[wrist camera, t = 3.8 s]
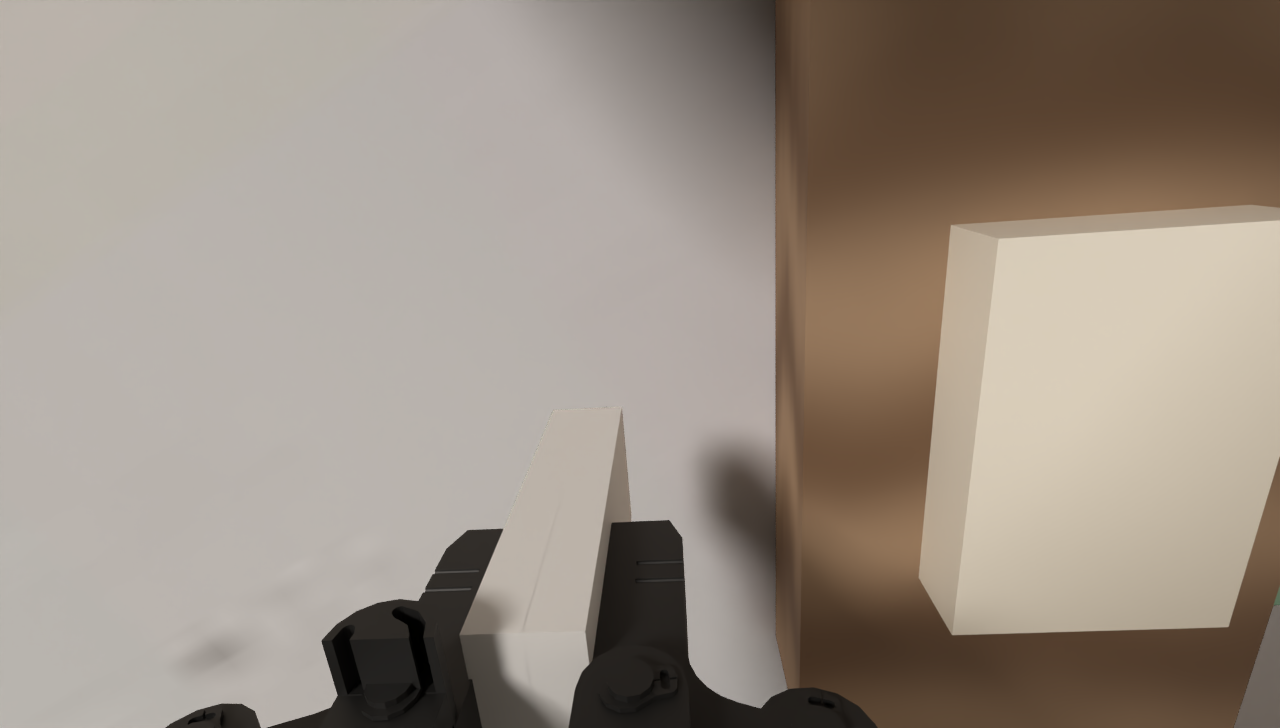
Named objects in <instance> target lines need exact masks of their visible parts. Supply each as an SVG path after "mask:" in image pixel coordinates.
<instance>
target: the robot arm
mask: <svg viewBox="0 0 1280 728" xmlns="http://www.w3.org/2000/svg"><path fill="white" fill-rule="evenodd" d="M425 589H426V591H425V593H423V594H422V595H421V597H420V599H419V601H411V600H403V599H398V600H392V601H386V602H380V603H377V604H374V605H372V606H369V607H366V608H364V609H361V610H359V611H356V612H355V613H353V614H352V615H350V616H349V617H347V618H346V619H344V620H343V621H341V622H340V623H338V624H337V625H336V626H335V627H334V628H333V629H332V630H331V631H330V632H329V633H328V634H327V635H326V636H325V637H324V638H323V640H322V645H323V648H324V651H325V655H326V658H327V661H328V664H329V668H330V671H331V674H332V678H333V681H334V684H335V688H336V691H337V694H338V696H337V698H336V700H335V701H334V703H333V705H332V707H331V708H329V709H326V710H324V711H321V712H318V713H316V714H313V715H309V716H306V717H302V718H299V719H295V720H292V721H288V722H285V723H281V724H278V725H274V726H271V727H268V728H878V727H877V726H876V724H875V723H874V722H873V721H872V720H871V719H870V718H869V717H868V716H867V714H866V713H865V712H864V711H863V710H862V709H861V708H860V707H859V706H858V705H856V704H854V703H853V702H851V701H849V700H848V699H846V698H844V697H843V696H841V695H839V694H837V693H834V692H830V691H826V690H822V689H818V688H814V687H810V688H793V689H789V690H786V691H784V692H782V693H779V694H777V695H775V696H773V697H771V698H770V699H769V700H768V701H767V702H766V704H765V705H764V706H763V707H762V708H761V709H760V708H756V707H753V706H749V705H745V704H742V703H738V702H735V701H733V700H730V699H727V698H725V697H722V696H720V695H718V694H717V693H715V692H714V691H712V690H711V689H709V688H708V687H706V685H705V684H704V683H703V682H702V681H701V680H700V679H699V678H698V677H697V676H696V674H695V672H694V671H693V669H692V667H691V665H690V663H689V658H688V637H687V615H686V597H685V579H684V561H683V543H682V537H681V536H680V534H679V533H678V532H677V530H676V529H675V527H674V526H673V525H672V523H671V522H670V521H669V520H664V521H639V522H631V506H630V495H629V483H628V472H627V460H626V449H625V437H624V426H623V414H622V407H604V408H584V409H564V410H553V412H552V414H551V417H550V419H549V421H548V424H547V426H546V429H545V431H544V433H543V436H542V438H541V441H540V443H539V445H538V448H537V450H536V453H535V455H534V457H533V460H532V462H531V464H530V467H529V469H528V472H527V474H526V476H525V479H524V481H523V484H522V486H521V488H520V491H519V493H518V496H517V498H516V500H515V503H514V505H513V508H512V510H511V512H510V515H509V517H508V520H507V522H506V524H505V527H504V529H486V530H468V531H466V532H465V533H464V534H463V535H462V536H461V537H460V538H458V539H457V540H456V541H455V542H454V543H453V544H452V545H450V546H449V547H448V548H447V549H446V551H445V553H444V554H443V556H442V558H441V560H440V562H439V564H438V566H437V567H436V569H435V574H433V575H432V577H431V579H430V581H429V582H428V584H427V586H426V588H425ZM166 728H261V727H260V724H259V722H258V719H257V716H256V713H255V711H253V710H252V709H250V708H248V707H246V706H244V705H243V704H219V705H215V706H211V707H208V708H204V709H201V710H197V711H195V712H193V713H191V714H189V715H187V716H185V717H183V718H181V719H179V720H177V721H175V722H173V723H171V724H170V725H168V726H167V727H166Z"/></svg>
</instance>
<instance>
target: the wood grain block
mask: <svg viewBox="0 0 1280 728" xmlns="http://www.w3.org/2000/svg"><path fill="white" fill-rule="evenodd" d="M775 76H776V639H777V643H778V647H779V652H780V656H781V661H782V665H783V670H784V674H785V679H786V683H787V688H788V690H789V689H793V688H810V687H814V688H818V689H822V690H826V691H830V692H834V693H837V694H839V695H841V696H843V697H844V698H846V699H848V700H849V701H851V702H853V703H854V704H856V705H858V706H859V707H860V708H861V709H862V710H863V711H864V712H865V713H866V714H867V716H868V717H869V718H870V719H871V720H872V721H873V722H874V723H875V724H876V726H877V727H878V728H1234V725H1235V722H1236V719H1237V716H1238V713H1239V709H1240V706H1241V703H1242V700H1243V697H1244V694H1245V691H1246V688H1247V685H1248V682H1249V679H1250V676H1251V673H1252V670H1253V667H1254V663H1255V660H1256V657H1257V654H1258V651H1259V648H1260V645H1261V642H1262V639H1263V636H1264V633H1265V630H1266V627H1267V624H1268V620H1269V617H1270V614H1271V611H1272V608H1273V605H1274V602H1275V599H1276V596H1277V593H1278V590H1279V587H1280V457H1279V460H1278V464H1277V467H1276V470H1275V474H1274V477H1273V480H1272V484H1271V487H1270V490H1269V494H1268V497H1267V500H1266V504H1265V507H1264V510H1263V514H1262V517H1261V520H1260V524H1259V527H1258V530H1257V534H1256V537H1255V540H1254V544H1253V547H1252V550H1251V554H1250V557H1249V560H1248V563H1247V567H1246V570H1245V573H1244V577H1243V580H1242V583H1241V587H1240V590H1239V593H1238V597H1237V600H1236V603H1235V607H1234V610H1233V613H1232V617H1231V620H1230V623H1229V627H1218V628H1183V629H1149V630H1114V631H1080V632H1046V633H1011V634H977V635H952V634H951V633H950V631H949V629H948V627H947V626H946V624H945V622H944V621H943V619H942V617H941V615H940V614H939V612H938V610H937V609H936V607H935V605H934V603H933V602H932V600H931V598H930V597H929V595H928V593H927V591H926V590H925V588H924V586H923V584H922V583H921V581H920V579H919V567H920V556H921V545H922V534H923V523H924V513H925V502H926V491H927V480H928V469H929V458H930V447H931V436H932V425H933V414H934V403H935V392H936V381H937V370H938V360H939V349H940V338H941V327H942V316H943V305H944V294H945V283H946V272H947V261H948V250H949V239H950V228H951V225H958V224H973V223H988V222H1002V221H1017V220H1032V219H1047V218H1062V217H1077V216H1091V215H1106V214H1121V213H1136V212H1151V211H1166V210H1180V209H1195V208H1210V207H1225V206H1240V205H1258V206H1267V207H1277V208H1280V0H775Z"/></svg>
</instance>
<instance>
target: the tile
mask: <svg viewBox="0 0 1280 728" xmlns="http://www.w3.org/2000/svg"><path fill="white" fill-rule="evenodd" d="M1279 457H1280V208H1277V207H1267V206H1258V205H1240V206H1225V207H1210V208H1195V209H1180V210H1166V211H1151V212H1136V213H1121V214H1106V215H1091V216H1077V217H1062V218H1047V219H1032V220H1017V221H1002V222H988V223H973V224H958V225H951V228H950V239H949V250H948V261H947V272H946V283H945V294H944V305H943V316H942V327H941V338H940V349H939V360H938V370H937V381H936V392H935V403H934V414H933V425H932V436H931V447H930V458H929V469H928V480H927V491H926V502H925V513H924V523H923V534H922V545H921V556H920V567H919V579H920V581H921V583H922V584H923V586H924V588H925V590H926V591H927V593H928V595H929V597H930V598H931V600H932V602H933V603H934V605H935V607H936V609H937V610H938V612H939V614H940V615H941V617H942V619H943V621H944V622H945V624H946V626H947V627H948V629H949V631H950V633H951V634H952V635H977V634H1011V633H1046V632H1080V631H1114V630H1149V629H1183V628H1218V627H1229V623H1230V620H1231V617H1232V613H1233V610H1234V607H1235V603H1236V600H1237V597H1238V593H1239V590H1240V587H1241V583H1242V580H1243V577H1244V573H1245V570H1246V567H1247V563H1248V560H1249V557H1250V554H1251V550H1252V547H1253V544H1254V540H1255V537H1256V534H1257V530H1258V527H1259V524H1260V520H1261V517H1262V514H1263V510H1264V507H1265V504H1266V500H1267V497H1268V494H1269V490H1270V487H1271V484H1272V480H1273V477H1274V474H1275V470H1276V467H1277V464H1278V460H1279Z"/></svg>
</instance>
